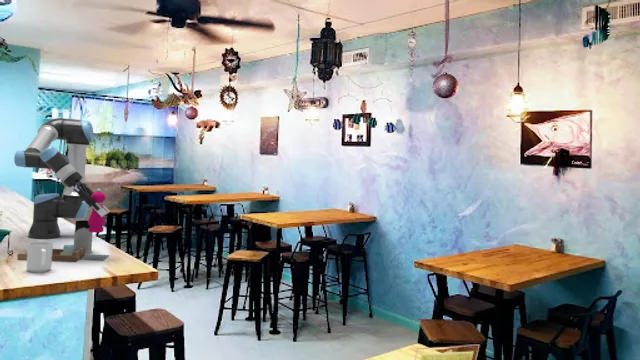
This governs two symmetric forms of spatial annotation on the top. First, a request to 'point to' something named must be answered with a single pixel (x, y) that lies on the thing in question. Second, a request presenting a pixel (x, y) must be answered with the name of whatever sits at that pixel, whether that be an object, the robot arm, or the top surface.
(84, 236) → the glass holder
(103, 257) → the mat
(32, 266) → the mug
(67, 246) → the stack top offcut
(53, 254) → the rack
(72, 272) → the top surface
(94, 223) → the pepper mill
